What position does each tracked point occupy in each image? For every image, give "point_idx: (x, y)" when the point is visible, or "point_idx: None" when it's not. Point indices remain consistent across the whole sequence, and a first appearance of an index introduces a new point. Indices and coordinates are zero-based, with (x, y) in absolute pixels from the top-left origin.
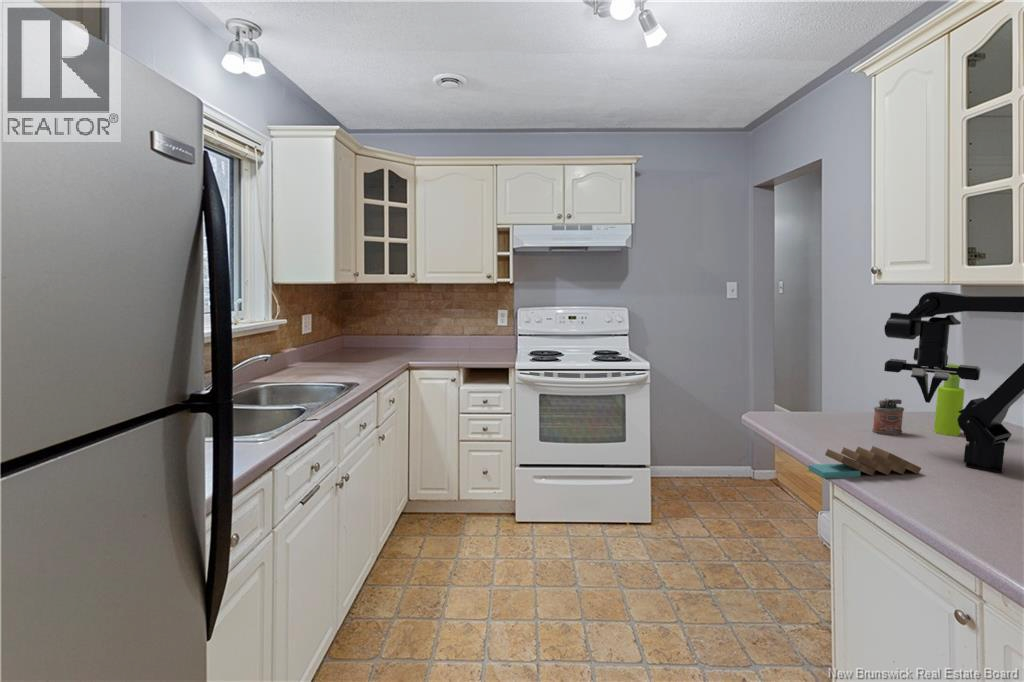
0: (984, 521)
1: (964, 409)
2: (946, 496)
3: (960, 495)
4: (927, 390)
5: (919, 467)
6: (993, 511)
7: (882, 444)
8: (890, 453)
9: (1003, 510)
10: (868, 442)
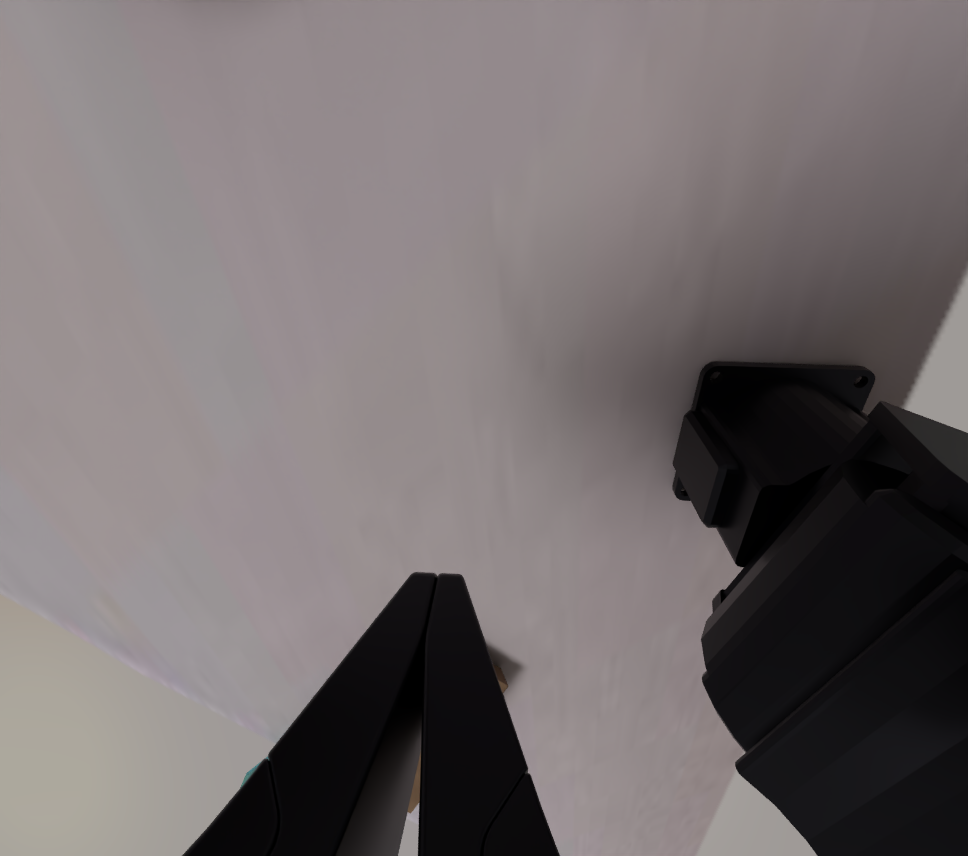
0: (647, 842)
1: (798, 823)
2: (581, 773)
3: (615, 754)
4: (389, 826)
5: (502, 692)
6: (677, 800)
7: (260, 324)
8: (412, 808)
9: (702, 787)
10: (188, 335)
